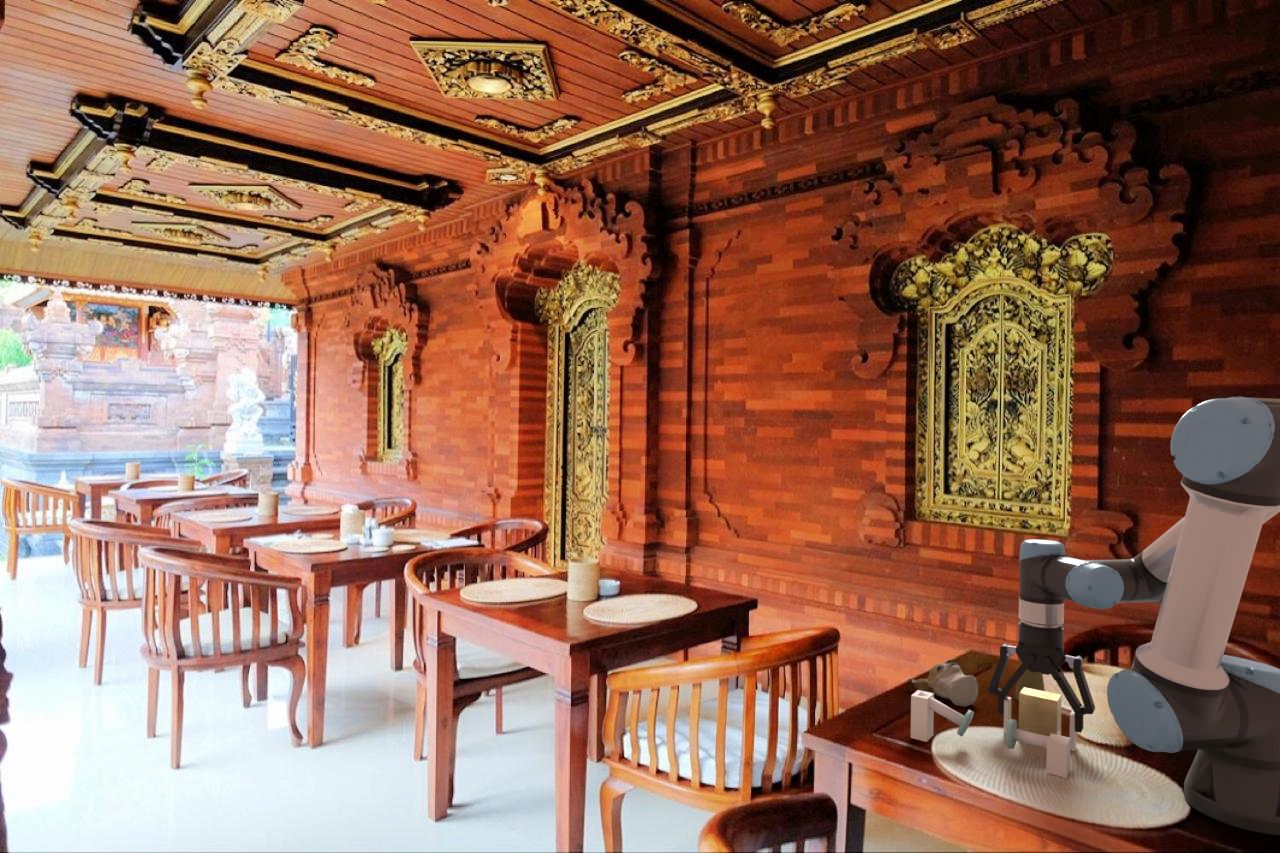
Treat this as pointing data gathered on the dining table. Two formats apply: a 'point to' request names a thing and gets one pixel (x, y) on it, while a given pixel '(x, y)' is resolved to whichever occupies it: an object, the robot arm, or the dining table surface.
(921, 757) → the dining table surface
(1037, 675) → the olive pepper shaker
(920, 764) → the dining table surface
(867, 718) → the dining table surface
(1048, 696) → the tan rectangular block
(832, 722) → the dining table surface
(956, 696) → the ceramic sculpture
